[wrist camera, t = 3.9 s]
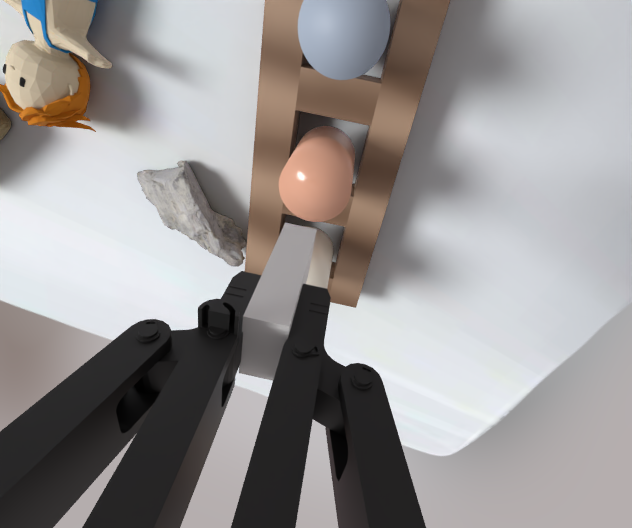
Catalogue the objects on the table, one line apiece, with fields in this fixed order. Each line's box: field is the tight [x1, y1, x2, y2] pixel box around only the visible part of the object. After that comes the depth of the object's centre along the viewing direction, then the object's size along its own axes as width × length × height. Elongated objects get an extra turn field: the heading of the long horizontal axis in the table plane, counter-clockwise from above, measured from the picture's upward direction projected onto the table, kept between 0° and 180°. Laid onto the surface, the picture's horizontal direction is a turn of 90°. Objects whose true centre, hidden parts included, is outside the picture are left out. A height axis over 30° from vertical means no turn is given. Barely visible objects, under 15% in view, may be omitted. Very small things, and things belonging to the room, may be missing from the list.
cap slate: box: [298, 0, 390, 80], centre depth 22 cm, size 5×5×7 cm
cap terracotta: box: [279, 126, 355, 222], centre depth 27 cm, size 5×5×7 cm
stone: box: [137, 161, 247, 266], centre depth 37 cm, size 6×12×4 cm, turn 30°
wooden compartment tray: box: [245, 0, 450, 308], centre depth 31 cm, size 30×12×3 cm, turn 170°
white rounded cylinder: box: [303, 226, 334, 289], centre depth 32 cm, size 5×5×7 cm
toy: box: [0, 0, 112, 132], centre depth 28 cm, size 12×6×15 cm
